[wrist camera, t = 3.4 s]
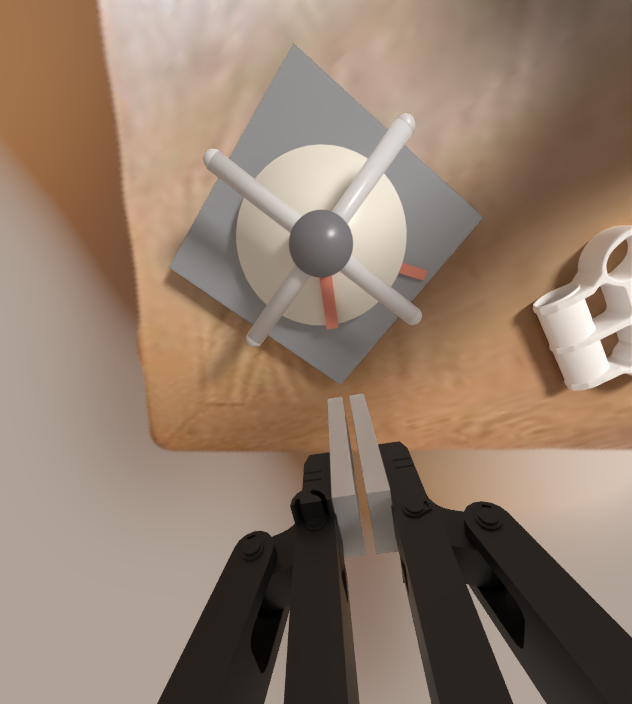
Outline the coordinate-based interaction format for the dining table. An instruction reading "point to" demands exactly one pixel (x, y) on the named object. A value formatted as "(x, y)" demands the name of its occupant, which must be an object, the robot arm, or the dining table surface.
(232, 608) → the robot arm
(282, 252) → the capstan
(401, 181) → the dial board
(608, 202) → the dining table surface
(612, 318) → the white brass knuckles
